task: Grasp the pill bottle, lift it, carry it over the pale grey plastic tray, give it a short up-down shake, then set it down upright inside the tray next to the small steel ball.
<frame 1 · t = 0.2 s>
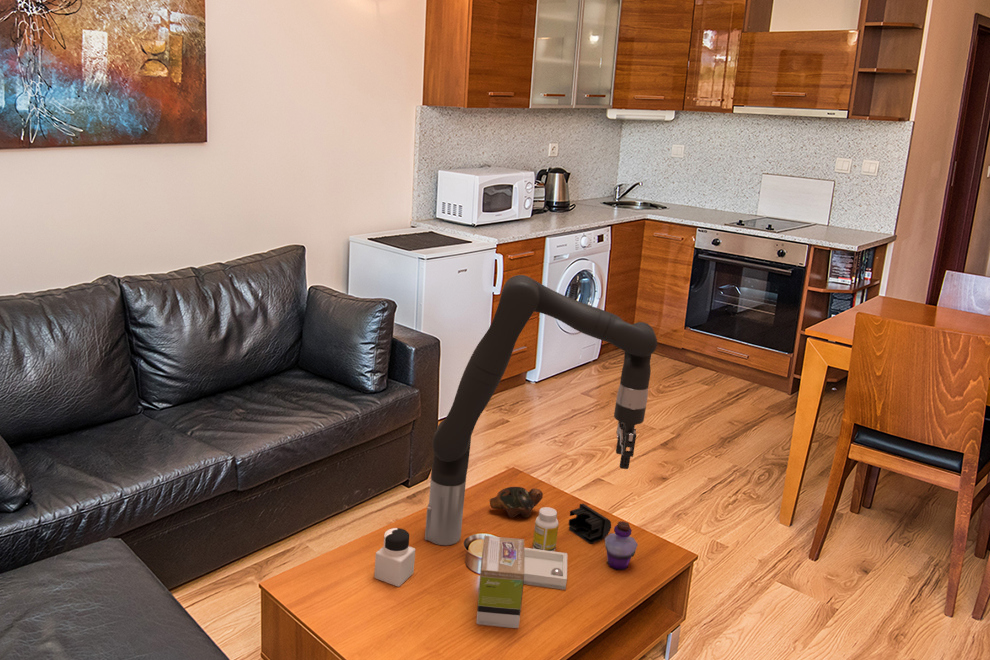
hand: (621, 460, 214), 28 cm above the table, fingers open, 8 cm apart
pill bottle: (543, 548, 224), on the table
tea box: (498, 608, 197), on the table
potion bottle: (617, 565, 219), on the table
end cap: (587, 534, 234), on the table
tray: (538, 572, 212), on the table
medicine bottle: (393, 576, 205), on the table
decorative turtle: (514, 513, 241), on the table
steel ball: (556, 579, 208), point 1 cm above the table, touching tray
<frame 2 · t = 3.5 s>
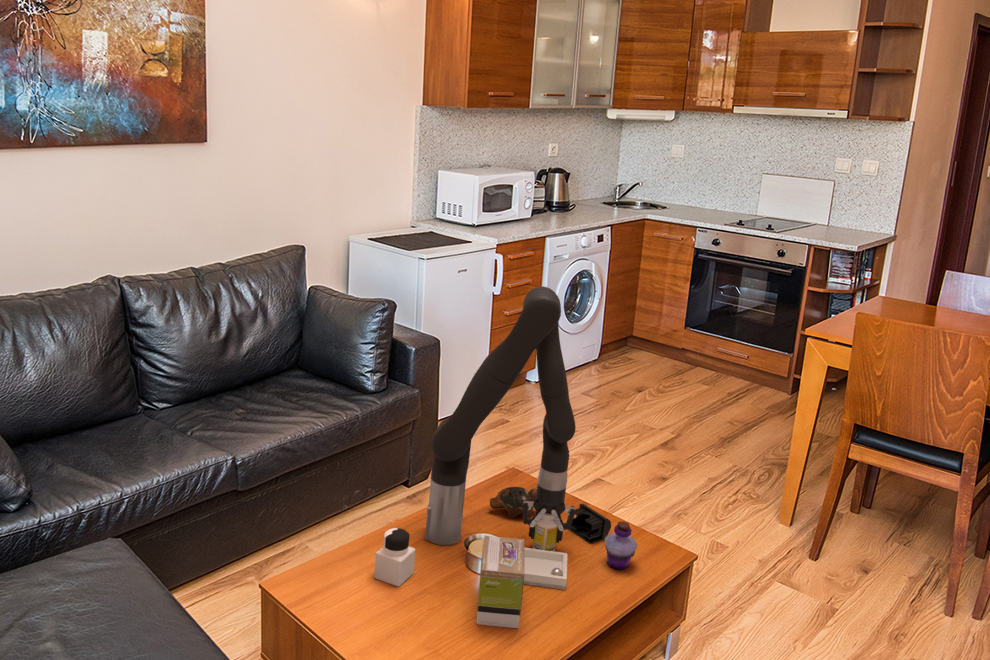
hand: (545, 539, 223), 3 cm above the table, fingers closed on pill bottle, 6 cm apart
pill bottle: (543, 548, 224), on the table, touching gripper
everything else where it was.
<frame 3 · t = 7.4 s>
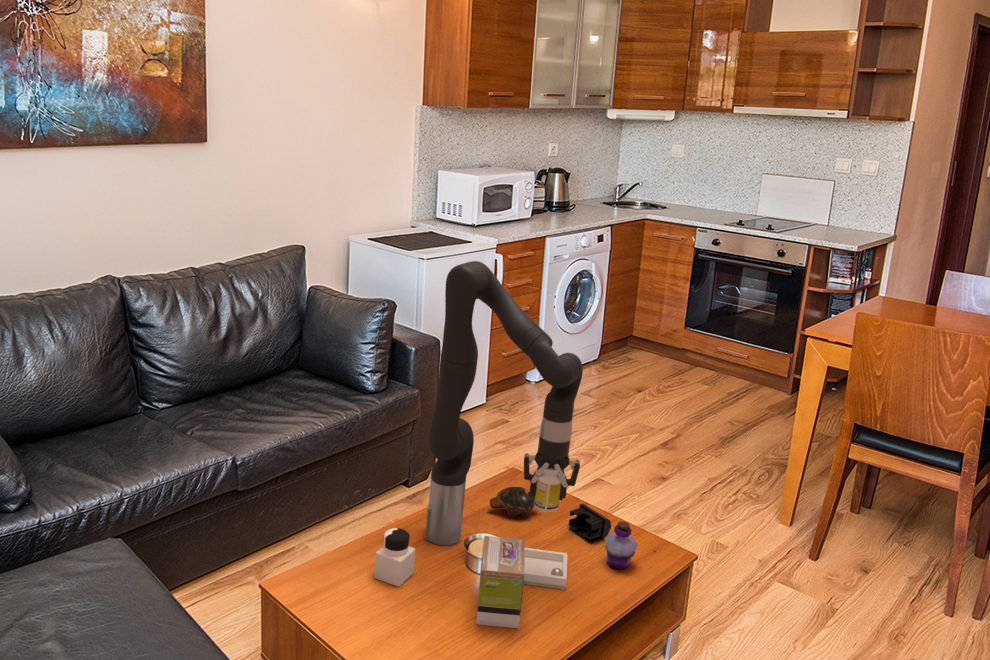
hand: (547, 496, 206), 21 cm above the table, fingers closed on pill bottle, 6 cm apart
pill bottle: (545, 507, 207), point 18 cm above the table, touching gripper
everything else where it was.
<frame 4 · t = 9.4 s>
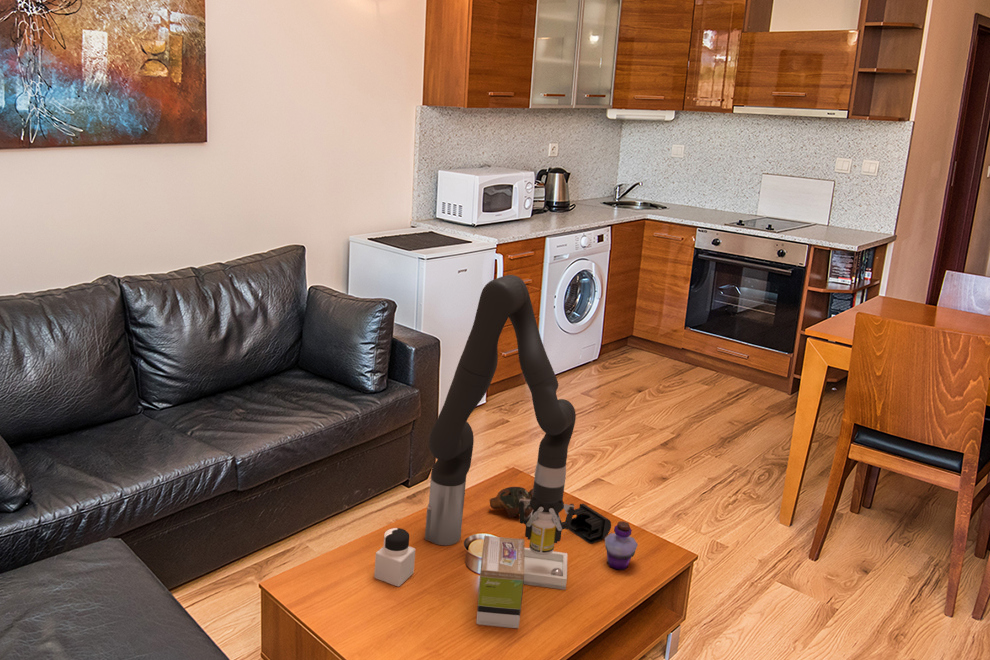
hand: (542, 539, 209), 9 cm above the table, fingers closed on pill bottle, 6 cm apart
pill bottle: (541, 550, 210), point 7 cm above the table, touching gripper
everything else where it was.
when the fingers open (5 cm above the table, at t = 11.3 s): pill bottle drops 1 cm, resting on tray.
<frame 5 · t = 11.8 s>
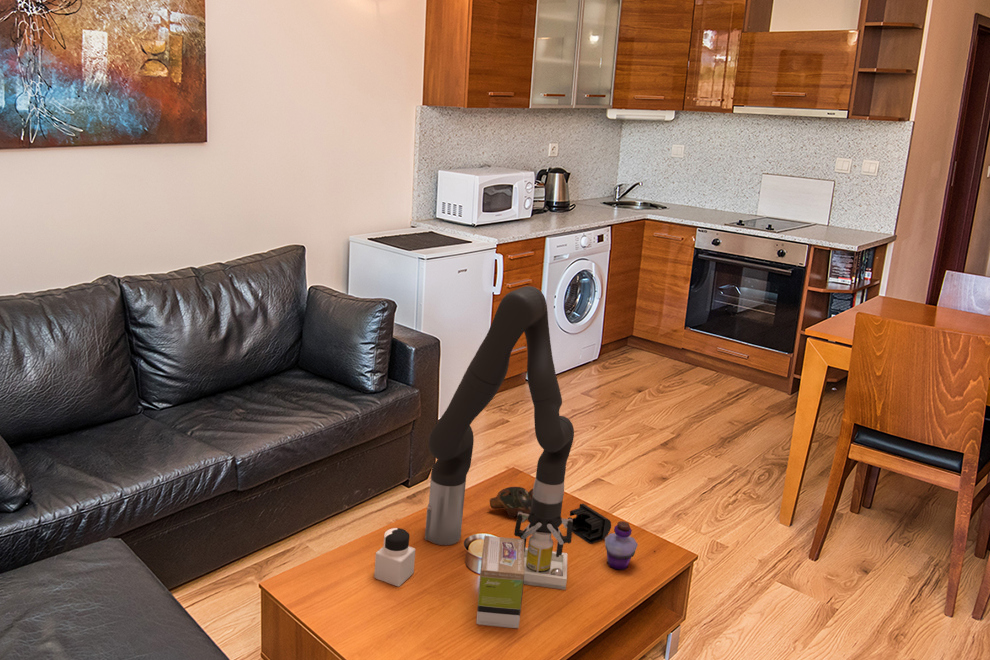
hand: (540, 553, 211), 6 cm above the table, fingers open, 8 cm apart
pill bottle: (537, 569, 212), point 1 cm above the table, touching tray
everything else where it was.
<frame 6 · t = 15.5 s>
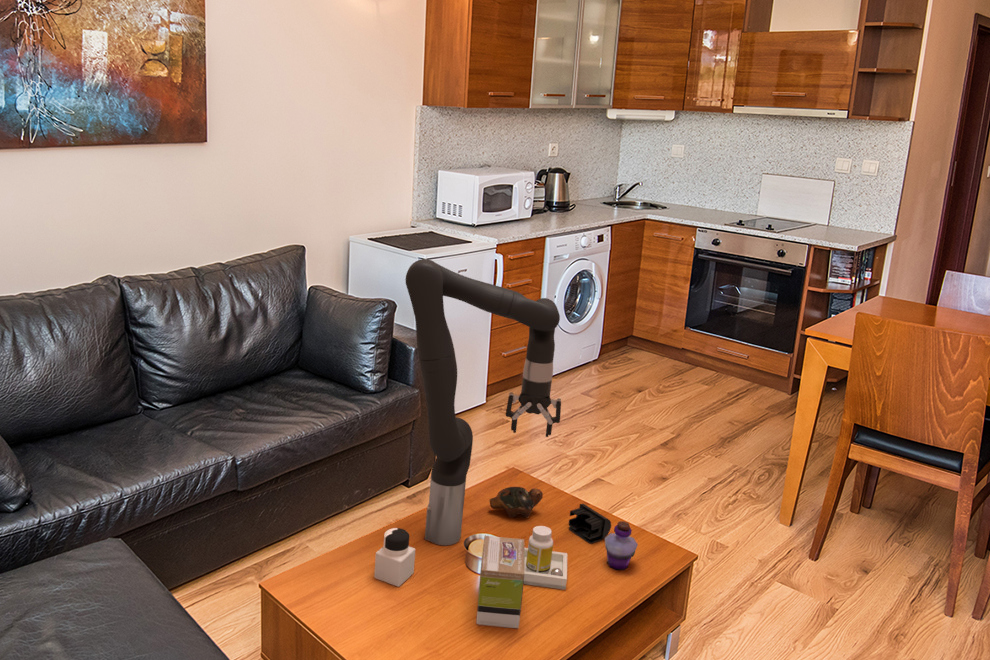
hand: (530, 433, 220), 30 cm above the table, fingers open, 8 cm apart
nothing on the table moved.
at the end: pill bottle inside the target area on the tray (0.2 cm from its centre), point 0.8 cm above the tray's base; pill bottle tilted 0°; the gripper is holding nothing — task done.
